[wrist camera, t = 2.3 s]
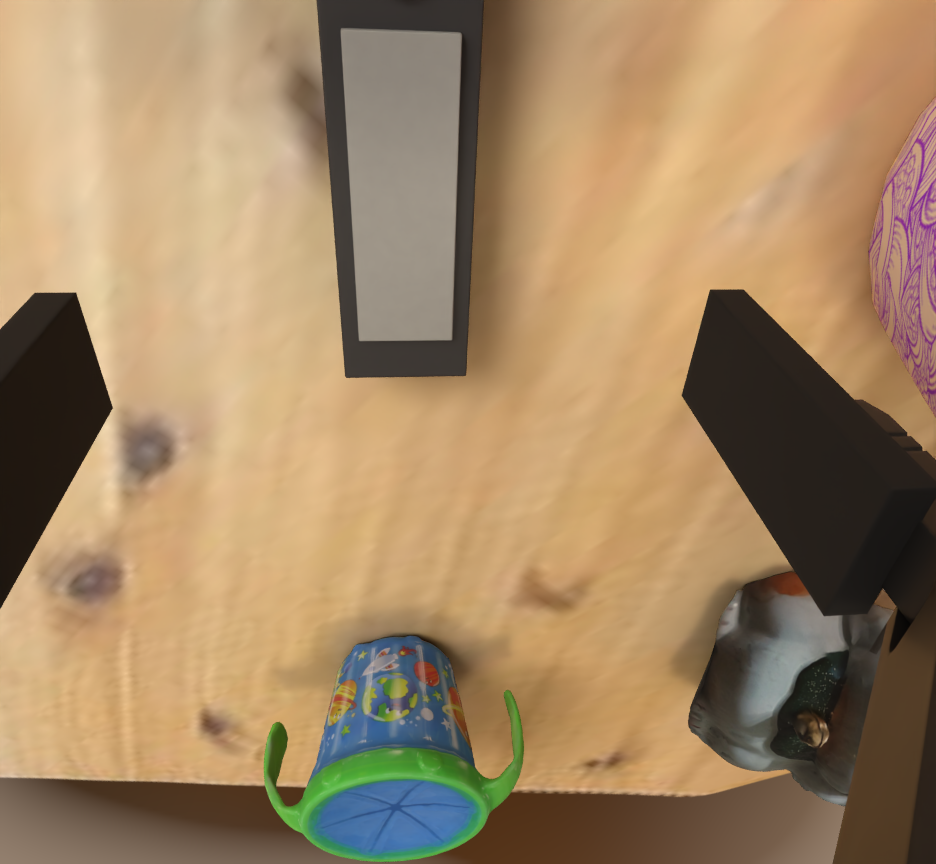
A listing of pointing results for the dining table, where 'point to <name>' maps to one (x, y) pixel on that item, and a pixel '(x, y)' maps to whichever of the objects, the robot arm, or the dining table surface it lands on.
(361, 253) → the tv remote
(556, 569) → the dining table surface
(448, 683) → the snack cup
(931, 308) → the bowl of food
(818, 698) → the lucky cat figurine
